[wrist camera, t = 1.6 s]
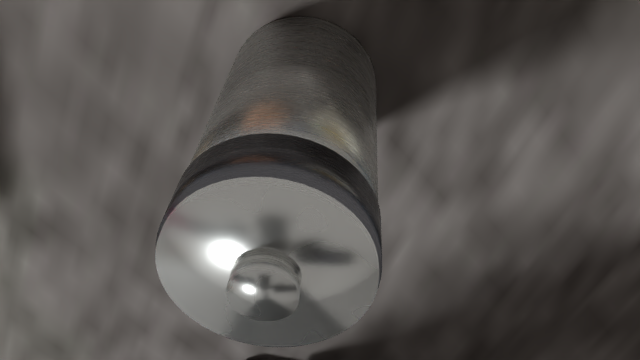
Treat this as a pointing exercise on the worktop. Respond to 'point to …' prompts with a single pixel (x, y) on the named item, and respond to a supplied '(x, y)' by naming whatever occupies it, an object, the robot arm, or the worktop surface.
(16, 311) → the worktop surface
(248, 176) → the glass salt shaker
